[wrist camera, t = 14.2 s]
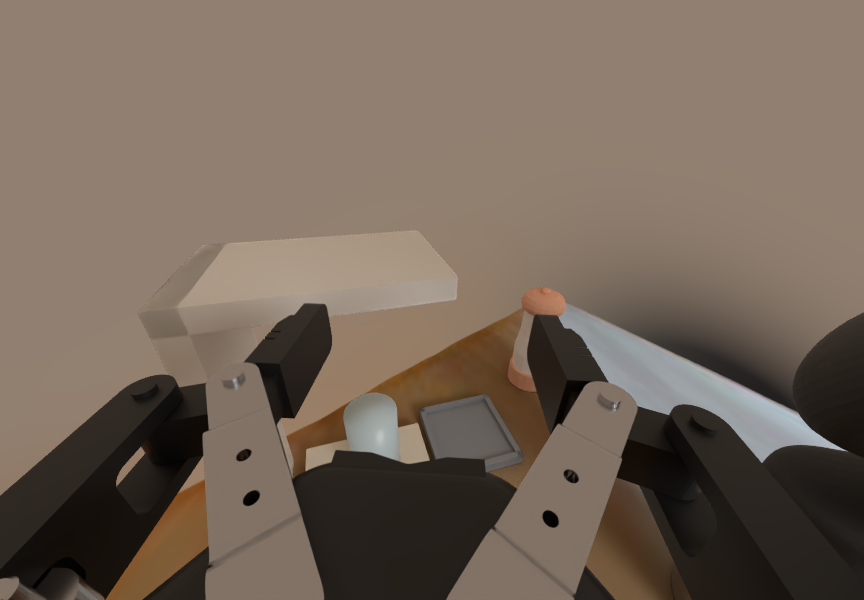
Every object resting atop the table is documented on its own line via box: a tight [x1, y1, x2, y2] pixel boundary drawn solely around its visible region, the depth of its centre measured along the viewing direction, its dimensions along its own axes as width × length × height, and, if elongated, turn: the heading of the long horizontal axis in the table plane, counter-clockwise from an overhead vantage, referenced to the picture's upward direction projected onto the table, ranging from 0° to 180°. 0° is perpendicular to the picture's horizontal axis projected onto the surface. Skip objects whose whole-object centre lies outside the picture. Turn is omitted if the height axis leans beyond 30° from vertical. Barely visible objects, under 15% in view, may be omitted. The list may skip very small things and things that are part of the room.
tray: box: [419, 394, 524, 472], centre depth 48 cm, size 12×12×2 cm
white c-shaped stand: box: [138, 230, 458, 477], centre depth 34 cm, size 20×12×32 cm, turn 107°
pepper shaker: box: [508, 287, 566, 392], centre depth 56 cm, size 7×7×19 cm
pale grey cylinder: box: [343, 393, 400, 461], centre depth 39 cm, size 6×6×11 cm
